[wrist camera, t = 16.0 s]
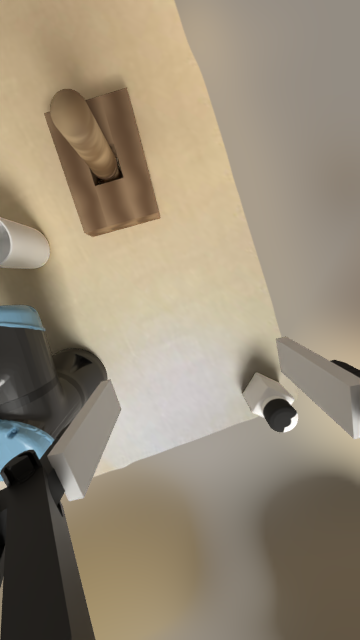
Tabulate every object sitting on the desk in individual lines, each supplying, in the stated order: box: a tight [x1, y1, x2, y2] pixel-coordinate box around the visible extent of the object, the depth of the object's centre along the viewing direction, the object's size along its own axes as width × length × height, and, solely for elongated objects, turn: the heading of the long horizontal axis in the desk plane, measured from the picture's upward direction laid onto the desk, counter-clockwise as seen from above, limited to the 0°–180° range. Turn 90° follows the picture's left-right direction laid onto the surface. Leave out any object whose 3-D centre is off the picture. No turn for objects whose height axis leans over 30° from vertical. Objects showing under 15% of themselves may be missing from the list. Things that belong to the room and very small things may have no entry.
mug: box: [0, 217, 50, 269], centre depth 38 cm, size 9×12×11 cm
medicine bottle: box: [243, 372, 298, 432], centre depth 45 cm, size 7×7×12 cm
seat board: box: [44, 88, 160, 237], centre depth 38 cm, size 15×20×4 cm
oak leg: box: [50, 89, 121, 183], centre depth 32 cm, size 5×5×16 cm
